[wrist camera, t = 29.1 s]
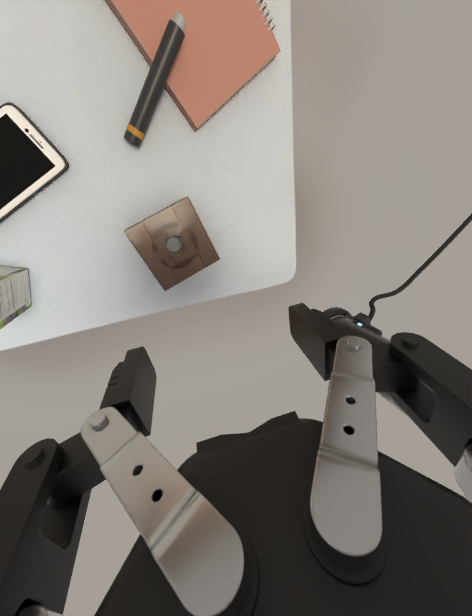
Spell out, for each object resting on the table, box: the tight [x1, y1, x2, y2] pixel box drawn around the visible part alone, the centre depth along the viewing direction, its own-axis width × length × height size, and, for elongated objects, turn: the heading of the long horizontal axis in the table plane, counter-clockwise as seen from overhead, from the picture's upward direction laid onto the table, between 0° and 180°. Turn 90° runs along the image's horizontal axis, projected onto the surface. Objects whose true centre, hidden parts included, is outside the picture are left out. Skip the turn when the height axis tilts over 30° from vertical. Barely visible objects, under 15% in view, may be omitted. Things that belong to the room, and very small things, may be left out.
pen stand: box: [124, 197, 220, 291], centre depth 37 cm, size 10×10×4 cm
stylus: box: [124, 11, 187, 147], centre depth 29 cm, size 2×2×14 cm
